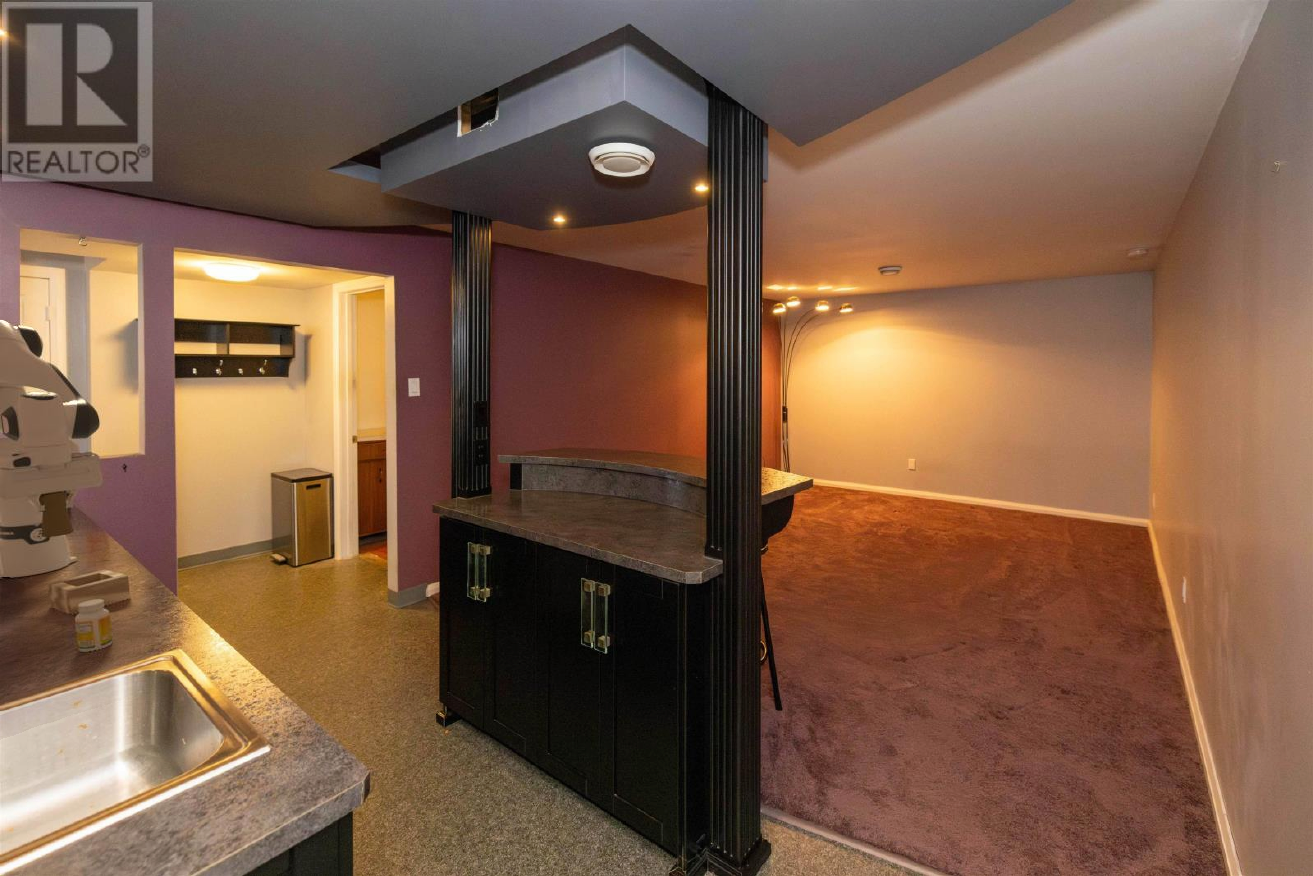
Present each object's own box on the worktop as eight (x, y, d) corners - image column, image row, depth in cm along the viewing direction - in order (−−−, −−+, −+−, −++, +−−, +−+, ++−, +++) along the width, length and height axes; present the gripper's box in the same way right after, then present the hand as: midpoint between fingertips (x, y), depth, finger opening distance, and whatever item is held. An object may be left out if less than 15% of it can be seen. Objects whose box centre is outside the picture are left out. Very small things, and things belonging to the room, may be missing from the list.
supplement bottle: (80, 655, 126) (74, 609, 125) (76, 647, 129) (70, 603, 128) (115, 645, 130) (110, 601, 129) (110, 638, 134) (105, 595, 132)
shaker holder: (50, 607, 152) (47, 583, 151) (108, 591, 162) (105, 569, 161) (72, 615, 147) (69, 590, 146) (130, 598, 157) (127, 575, 156)
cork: (53, 537, 156) (47, 494, 155) (34, 536, 157) (29, 493, 156) (80, 531, 162) (74, 489, 161) (61, 530, 163) (56, 489, 162)
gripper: (93, 450, 168) (98, 500, 170) (-14, 461, 150) (-6, 517, 151) (104, 451, 165) (110, 502, 167) (-3, 463, 147) (5, 520, 149)
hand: (54, 509), depth 159 cm, fingers closed on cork, 4 cm apart
